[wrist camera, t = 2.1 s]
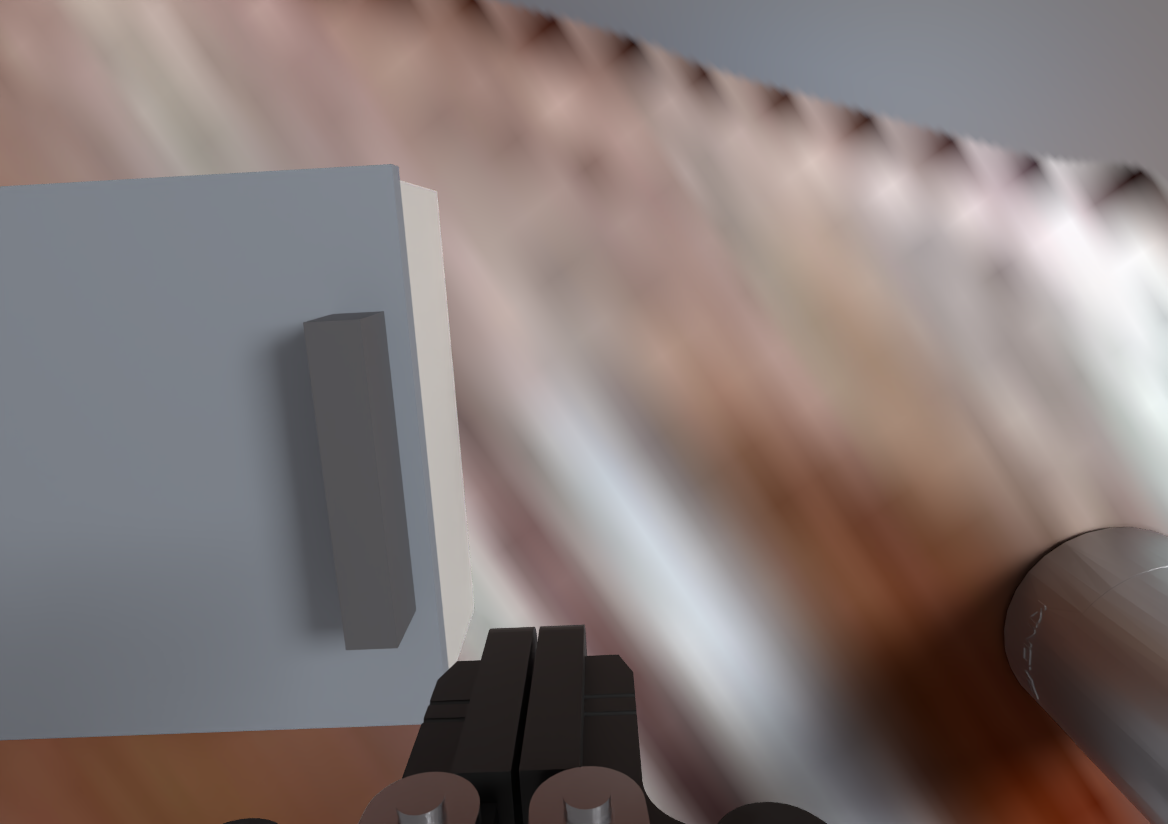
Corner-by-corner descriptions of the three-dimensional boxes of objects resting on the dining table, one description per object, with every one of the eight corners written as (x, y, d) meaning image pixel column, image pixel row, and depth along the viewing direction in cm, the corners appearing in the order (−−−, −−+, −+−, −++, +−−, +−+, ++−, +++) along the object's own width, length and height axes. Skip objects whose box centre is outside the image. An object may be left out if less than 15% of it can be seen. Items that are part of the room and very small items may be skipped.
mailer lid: (398, 166, 24) (367, 155, 21) (452, 709, 28) (434, 771, 25) (-255, 203, 24) (-384, 198, 21) (-110, 731, 28) (-200, 793, 25)
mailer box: (437, 190, 31) (392, 178, 24) (474, 607, 35) (445, 697, 28) (-54, 218, 32) (-234, 213, 25) (36, 625, 36) (-97, 718, 29)
